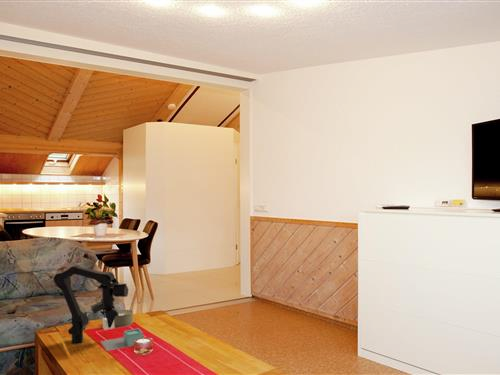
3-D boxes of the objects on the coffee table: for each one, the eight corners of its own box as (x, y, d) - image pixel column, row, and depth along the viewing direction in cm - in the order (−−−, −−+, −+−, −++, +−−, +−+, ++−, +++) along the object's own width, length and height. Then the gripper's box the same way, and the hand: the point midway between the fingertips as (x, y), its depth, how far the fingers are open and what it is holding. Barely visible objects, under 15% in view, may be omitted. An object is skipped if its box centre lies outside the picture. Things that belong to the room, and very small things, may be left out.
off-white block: (102, 327, 235) (102, 317, 235) (112, 325, 238) (112, 316, 238) (104, 329, 231) (104, 320, 231) (114, 328, 233) (114, 318, 233)
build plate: (100, 343, 236) (100, 330, 236) (136, 336, 245) (135, 324, 245) (107, 352, 222) (106, 339, 222) (144, 345, 231) (144, 332, 231)
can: (134, 320, 275) (134, 309, 275) (130, 326, 263) (130, 315, 263) (115, 321, 274) (114, 310, 274) (110, 327, 262) (109, 315, 262)
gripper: (88, 295, 238) (89, 324, 238) (95, 302, 222) (96, 334, 222) (109, 292, 244) (110, 320, 244) (118, 299, 228) (118, 329, 228)
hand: (108, 326), depth 234 cm, fingers closed on off-white block, 5 cm apart
